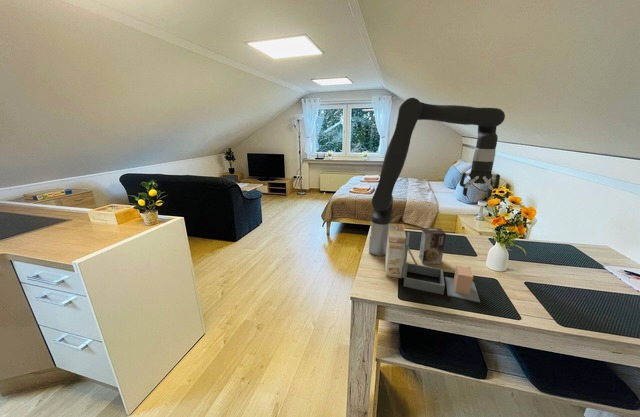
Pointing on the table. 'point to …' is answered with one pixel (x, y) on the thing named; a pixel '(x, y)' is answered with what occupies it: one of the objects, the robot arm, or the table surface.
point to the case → (421, 270)
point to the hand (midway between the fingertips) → (476, 196)
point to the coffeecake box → (395, 250)
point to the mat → (451, 292)
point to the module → (463, 280)
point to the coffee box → (432, 245)
